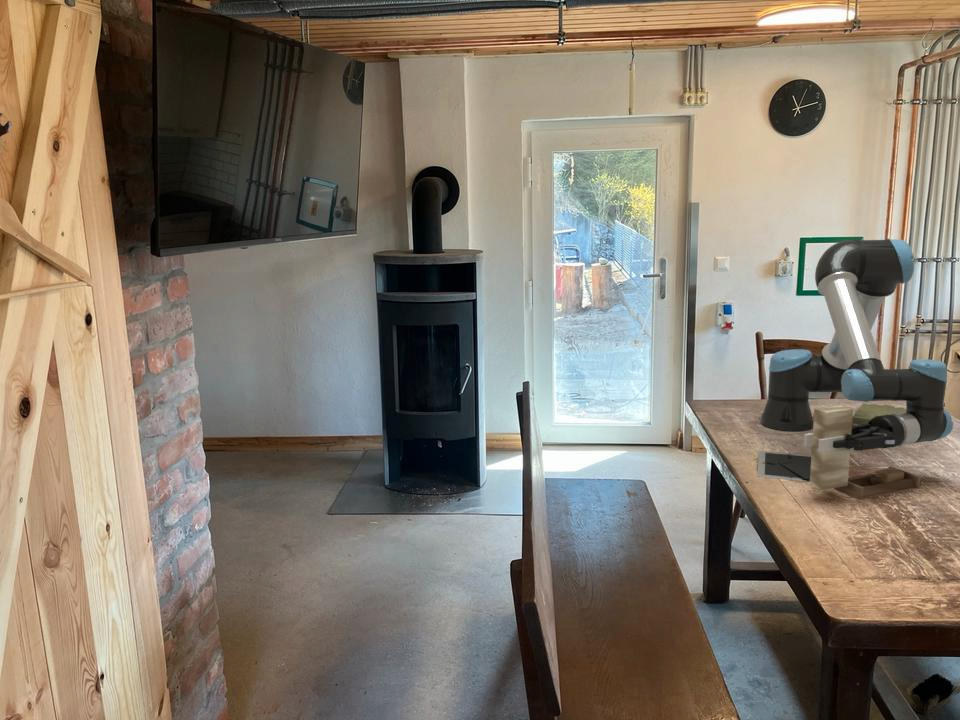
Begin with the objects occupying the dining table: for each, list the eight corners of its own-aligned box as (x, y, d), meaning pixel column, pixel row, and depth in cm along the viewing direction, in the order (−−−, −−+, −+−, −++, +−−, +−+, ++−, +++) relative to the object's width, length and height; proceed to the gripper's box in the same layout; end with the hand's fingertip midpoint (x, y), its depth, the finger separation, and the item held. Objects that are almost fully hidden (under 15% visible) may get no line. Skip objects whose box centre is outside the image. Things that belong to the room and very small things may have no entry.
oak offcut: (874, 484, 170) (875, 470, 169) (890, 481, 171) (891, 467, 171) (886, 489, 167) (888, 475, 166) (902, 486, 168) (904, 472, 167)
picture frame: (826, 491, 172) (821, 463, 190) (827, 479, 171) (822, 453, 190) (756, 483, 177) (758, 457, 196) (757, 473, 177) (758, 447, 196)
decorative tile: (925, 434, 211) (926, 423, 211) (850, 425, 223) (851, 414, 222) (931, 419, 226) (932, 408, 225) (860, 411, 238) (861, 401, 237)
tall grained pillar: (809, 485, 163) (814, 408, 159) (835, 480, 165) (840, 405, 162) (821, 490, 159) (826, 412, 156) (847, 485, 162) (853, 408, 158)
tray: (831, 492, 169) (833, 476, 168) (889, 481, 174) (890, 466, 174) (859, 504, 161) (861, 488, 161) (918, 492, 167) (920, 476, 166)
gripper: (922, 456, 159) (841, 470, 151) (861, 436, 174) (784, 448, 167) (926, 423, 158) (843, 436, 150) (863, 406, 173) (786, 417, 165)
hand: (812, 442), depth 158 cm, fingers closed on tall grained pillar, 3 cm apart
